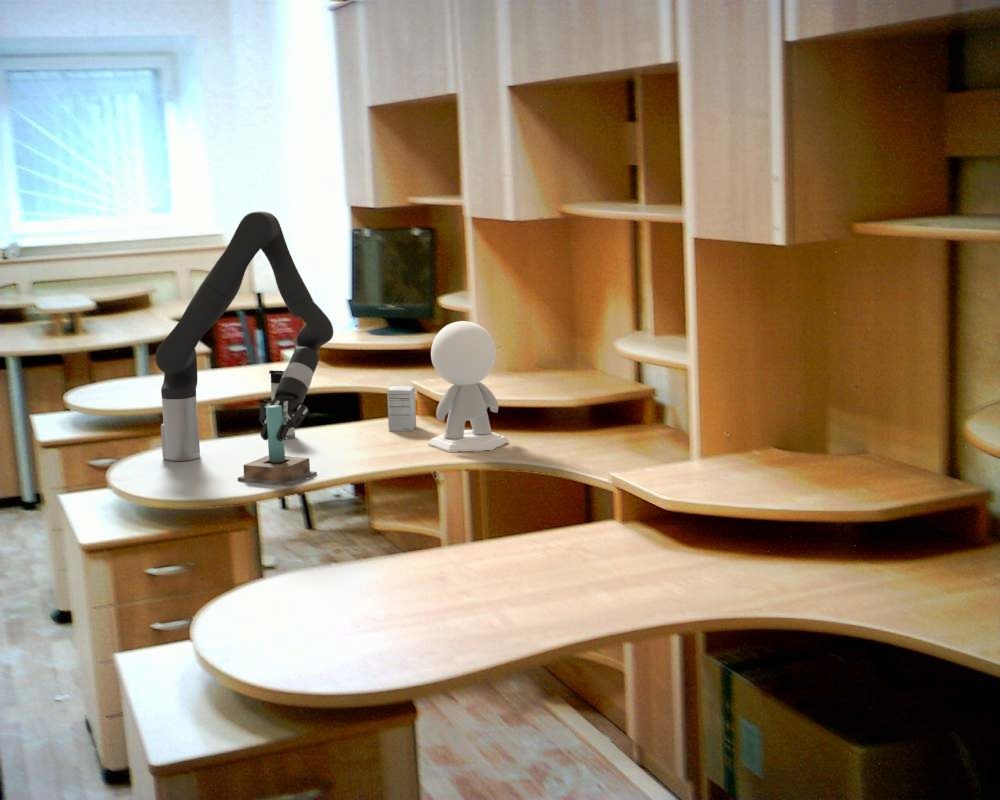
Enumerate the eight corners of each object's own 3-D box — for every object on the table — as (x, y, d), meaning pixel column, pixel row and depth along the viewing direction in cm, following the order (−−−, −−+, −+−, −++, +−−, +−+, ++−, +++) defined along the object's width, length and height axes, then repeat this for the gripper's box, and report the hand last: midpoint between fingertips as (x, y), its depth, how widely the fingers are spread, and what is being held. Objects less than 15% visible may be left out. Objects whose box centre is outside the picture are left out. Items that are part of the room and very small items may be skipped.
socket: (237, 480, 319) (236, 464, 319) (264, 470, 330) (263, 454, 329) (291, 485, 313) (290, 469, 312) (316, 474, 324) (315, 458, 323)
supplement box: (393, 426, 384) (391, 385, 381) (417, 426, 383) (415, 385, 380) (387, 431, 376) (386, 389, 374) (412, 431, 375) (410, 390, 373)
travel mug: (274, 435, 374) (271, 369, 370) (296, 435, 374) (293, 368, 370) (270, 439, 368) (266, 372, 364) (292, 439, 367) (289, 372, 364)
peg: (266, 461, 320) (262, 407, 317) (274, 458, 324) (271, 404, 321) (279, 462, 318) (276, 408, 316) (288, 459, 322) (284, 405, 319)
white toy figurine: (476, 432, 372) (473, 315, 365) (520, 446, 353) (518, 322, 346) (418, 442, 361) (414, 321, 355) (459, 456, 342) (456, 328, 336)
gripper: (265, 374, 327) (241, 429, 318) (312, 376, 321) (288, 432, 312) (277, 391, 332) (254, 445, 324) (324, 393, 327) (301, 448, 318)
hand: (271, 438), depth 318 cm, fingers closed on peg, 4 cm apart
